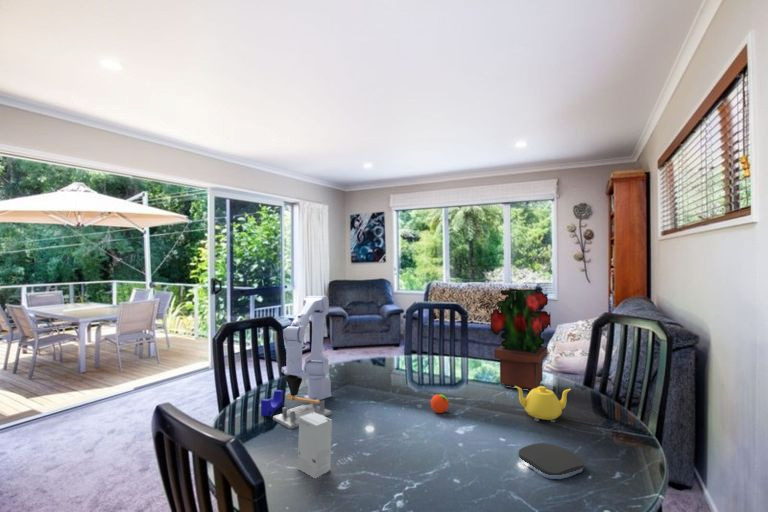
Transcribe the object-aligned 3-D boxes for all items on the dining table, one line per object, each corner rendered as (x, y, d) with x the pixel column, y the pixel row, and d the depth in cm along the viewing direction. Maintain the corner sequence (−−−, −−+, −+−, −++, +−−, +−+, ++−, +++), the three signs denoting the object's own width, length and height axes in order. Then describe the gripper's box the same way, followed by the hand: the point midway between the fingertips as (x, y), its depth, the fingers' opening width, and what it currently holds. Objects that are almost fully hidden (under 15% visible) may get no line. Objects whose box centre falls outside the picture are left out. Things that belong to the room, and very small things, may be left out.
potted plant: (551, 383, 184) (550, 289, 185) (542, 397, 166) (541, 292, 166) (504, 376, 196) (503, 287, 197) (491, 388, 177) (490, 290, 178)
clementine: (454, 412, 149) (454, 394, 149) (444, 418, 144) (444, 399, 144) (437, 407, 155) (437, 389, 155) (427, 412, 150) (427, 394, 150)
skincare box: (296, 469, 110) (296, 417, 110) (313, 461, 114) (313, 410, 114) (316, 480, 104) (315, 425, 104) (332, 470, 109) (332, 417, 109)
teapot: (565, 410, 151) (565, 381, 151) (576, 427, 136) (576, 394, 136) (511, 407, 155) (511, 378, 155) (517, 422, 140) (516, 391, 140)
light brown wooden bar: (316, 402, 153) (317, 398, 154) (322, 405, 151) (323, 400, 151) (286, 398, 143) (287, 393, 144) (291, 401, 141) (292, 396, 141)
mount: (312, 406, 157) (312, 394, 157) (331, 414, 149) (331, 402, 149) (272, 419, 144) (272, 407, 144) (290, 429, 136) (290, 416, 136)
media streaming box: (551, 484, 102) (551, 473, 102) (512, 458, 116) (512, 448, 116) (590, 471, 108) (590, 461, 108) (549, 448, 122) (549, 439, 122)
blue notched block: (272, 404, 160) (272, 389, 160) (282, 404, 159) (282, 390, 159) (257, 415, 148) (257, 400, 148) (268, 416, 147) (268, 400, 147)
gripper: (274, 357, 146) (274, 393, 146) (296, 364, 136) (296, 402, 136) (290, 353, 151) (290, 388, 151) (312, 360, 141) (312, 397, 141)
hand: (294, 395), depth 144 cm, fingers closed, pressing on light brown wooden bar
